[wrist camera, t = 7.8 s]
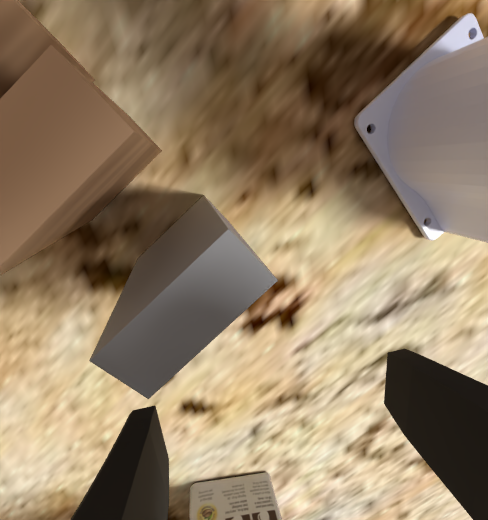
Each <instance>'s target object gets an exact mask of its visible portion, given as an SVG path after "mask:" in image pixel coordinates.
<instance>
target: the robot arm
mask: <svg viewBox="0 0 488 520" xmlns="http://www.w3.org/2000/svg"><path fill="white" fill-rule="evenodd" d="M468 33H470V38H469V36H468ZM354 125H355V128H356V130H357V131H358V133H359V135H360V136H361V138H362V139H363V141H364V142H365V144H366V146H367V147H368V149H369V150H370V152H371V154H372V155H373V157H374V158H375V160H376V162H377V163H378V165H379V166H380V168H381V169H382V171H383V173H384V174H385V176H386V177H387V179H388V181H389V182H390V184H391V185H392V187H393V188H394V190H395V192H396V193H397V195H398V196H399V198H400V200H401V201H402V203H403V204H404V206H405V208H406V209H407V211H408V212H409V214H410V215H411V217H412V219H413V220H414V222H415V223H416V225H417V227H418V228H419V230H420V231H421V233H422V235H423V236H424V237H425V238H426V239H428V240H435V239H437V238H438V237H439V236H440V235H441V234H442V233H444V232H448V233H452V234H456V235H460V236H464V237H468V238H472V239H476V240H480V241H483V242H487V243H488V37H486V38H483V35H482V33H481V30H480V28H479V25H478V22H477V20H476V18H475V16H474V15H473V14H471V13H469V14H466V15H464V16H462V17H461V18H459V19H458V20H457V21H456V22H455V23H454V24H453V25H452V26H451V27H450V28H449V29H447V30H446V31H445V32H444V33H443V34H442V35H441V36H440V37H439V38H438V39H437V40H436V41H435V42H434V43H433V44H432V45H431V46H429V47H428V48H427V49H426V50H425V51H424V52H423V53H422V54H421V55H420V56H419V57H418V58H417V59H416V60H415V61H414V62H413V63H411V64H410V65H409V66H408V67H407V68H406V69H405V70H404V71H403V72H402V73H401V74H400V75H399V76H398V77H397V78H396V79H395V80H393V81H392V82H391V83H390V84H389V85H388V86H387V87H386V88H385V89H384V90H383V91H382V92H381V93H380V94H379V95H378V96H377V97H376V98H374V99H373V100H372V101H371V102H370V103H369V104H368V105H367V106H366V107H365V108H364V109H363V110H362V111H361V112H360V113H359V114H358V115H357V116H356V117H355V121H354ZM368 125H370V126H371V132H370V133H367V126H368ZM425 219H426V222H425V224H424V220H425ZM384 404H385V406H386V407H387V409H388V410H389V412H390V414H391V415H392V417H393V418H394V420H395V422H396V423H397V425H398V426H399V428H400V429H401V431H402V432H403V434H404V435H405V436H406V438H407V439H408V440H409V441H410V443H411V444H412V445H413V446H414V448H415V449H416V450H417V451H418V453H419V454H420V455H421V456H422V458H423V459H424V460H425V461H426V463H427V464H428V465H429V466H430V467H431V469H432V470H433V471H434V472H435V474H436V475H437V476H438V477H439V478H440V480H441V481H442V482H443V483H444V485H445V486H446V487H447V488H448V489H449V491H450V492H451V493H452V494H453V496H454V497H455V498H456V499H457V500H458V502H459V503H460V504H461V505H462V506H463V508H464V509H465V510H466V511H467V513H468V514H469V515H470V516H471V518H472V519H473V520H488V386H487V385H485V384H483V383H481V382H479V381H476V380H474V379H472V378H470V377H468V376H465V375H463V374H461V373H459V372H457V371H454V370H452V369H450V368H448V367H446V366H444V365H441V364H439V363H437V362H435V361H433V360H430V359H428V358H426V357H424V356H421V355H419V354H417V353H414V352H412V351H409V350H407V349H402V350H397V351H393V352H388V357H387V371H386V384H385V398H384ZM168 507H169V458H168V454H167V450H166V446H165V442H164V438H163V434H162V430H161V426H160V422H159V418H158V414H157V410H156V406H151V407H147V408H142V409H138V410H133V411H132V412H131V413H130V415H129V417H128V419H127V421H126V423H125V425H124V426H123V428H122V430H121V432H120V434H119V436H118V438H117V440H116V442H115V444H114V446H113V447H112V449H111V451H110V453H109V455H108V457H107V458H106V460H105V462H104V464H103V466H102V467H101V469H100V471H99V473H98V474H97V476H96V478H95V480H94V481H93V483H92V485H91V487H90V488H89V490H88V492H87V493H86V495H85V497H84V499H83V500H82V502H81V504H80V505H79V507H78V509H77V510H76V512H75V513H74V515H73V517H72V518H71V520H167V519H168Z"/></svg>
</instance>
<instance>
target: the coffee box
mask: <svg viewBox="0 0 488 520" xmlns="http://www.w3.org/2000/svg"><path fill="white" fill-rule="evenodd" d="M189 520H282V518H281V515H280V511H279V508H278V504H277V501H276V497H275V493H274V490H273V486H272V482H271V478H270V475H269V473H259V474H252V475H246V476H240V477H233V478H226V479H220V480H213V481H207V482H199V483H194V484H193V485H192V486H191V487H190V505H189Z"/></svg>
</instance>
